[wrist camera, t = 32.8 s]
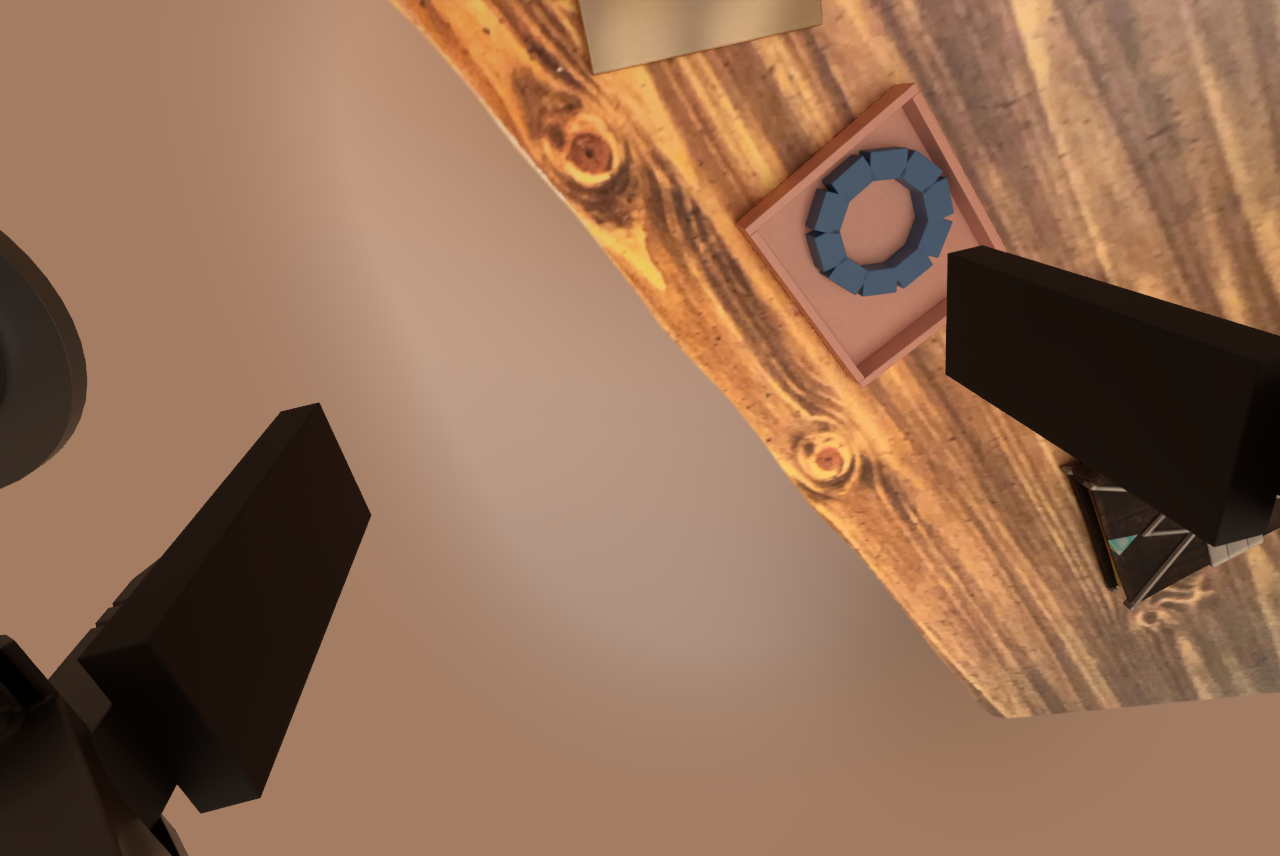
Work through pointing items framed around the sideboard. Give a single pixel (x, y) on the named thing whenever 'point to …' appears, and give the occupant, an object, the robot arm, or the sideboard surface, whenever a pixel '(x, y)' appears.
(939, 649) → the sideboard surface
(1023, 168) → the sideboard surface
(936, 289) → the tray
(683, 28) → the tan post with base
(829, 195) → the ring
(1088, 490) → the book
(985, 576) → the sideboard surface
